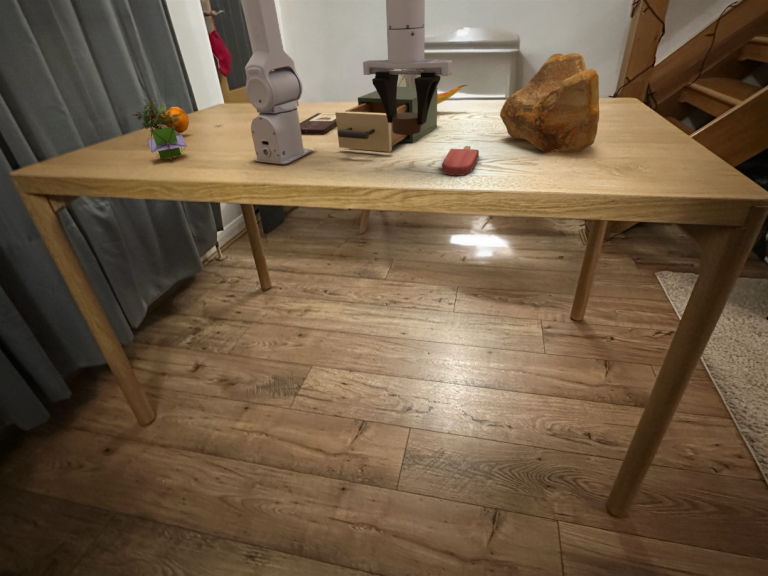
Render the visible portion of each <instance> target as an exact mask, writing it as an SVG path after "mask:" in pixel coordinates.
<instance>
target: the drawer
mask: <svg viewBox="0 0 768 576" xmlns="http://www.w3.org/2000/svg"><path fill="white" fill-rule="evenodd" d="M396 104H397V114H399V113H409V104H408V103H396ZM334 113H336V123H337V126H336V130H337V139H338V140H337V142H338V148H339V149H340V148H342V149H351V150H352V149H353V150H362V151H363V150H364V151H375V152H384V153H385V152H386V153H390V152H392V150H393V147H394V146H395V145H396V144H398V143H401V142H400V141H401V140H403V139H404V138H406V137H408V136H409V135H400V134H395V133H393V131H392V123H388V120H387V116H386V112H385V109H384V106H383V103H382V102H366V103H363V104H361V105H358V104H357V105H356V106H353V107H351V108H348V109H347V110H344V111H343V110H338V111H335V112H334Z"/></svg>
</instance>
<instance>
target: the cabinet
mask: <svg viewBox="0 0 768 576" xmlns="http://www.w3.org/2000/svg"><path fill="white" fill-rule="evenodd" d="M437 94H438V86H437V87H436V90H435V92H434V94H433V97H432V100H431V103H430V106H429V110H428V115H427V120H426V123H424V124H422V131H421V132H420V133H417V134H411V135H409V136H408V137H406V138H404V139H403V140H401V141H400V142H399V143H405V144H414V143H415V142H417V141H418V140H420V139H421V138H422V137H424V136H425V135H427V134H429V133H430V132H432V131H433V130H434V129H436V128H437V127H438V104H437ZM366 102H382V100H381V98H380V96H379V94H378V92H377V90H374V91H372V92H368V93H366V94H363V95H361V96H358V97H357V106H358V105H361V104H363V103H366ZM396 103H408V104H409V113H417V112H418V102H417V92H416V86H399V87H398V86H397V95H396Z"/></svg>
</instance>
